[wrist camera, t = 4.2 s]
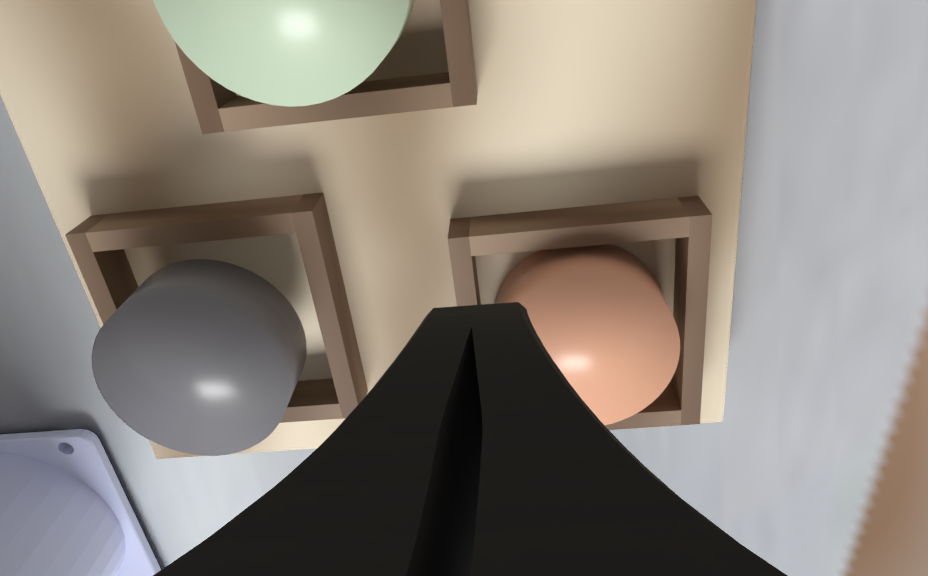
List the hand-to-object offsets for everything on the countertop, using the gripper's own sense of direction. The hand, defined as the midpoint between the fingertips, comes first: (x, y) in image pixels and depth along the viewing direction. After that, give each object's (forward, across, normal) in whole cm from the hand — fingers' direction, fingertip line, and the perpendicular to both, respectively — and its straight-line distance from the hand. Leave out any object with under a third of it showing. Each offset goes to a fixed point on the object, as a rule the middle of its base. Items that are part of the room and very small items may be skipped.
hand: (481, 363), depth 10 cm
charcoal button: (+6, +7, +3) cm, 9 cm away
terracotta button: (+7, -2, +4) cm, 8 cm away
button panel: (+9, +2, 0) cm, 10 cm away
